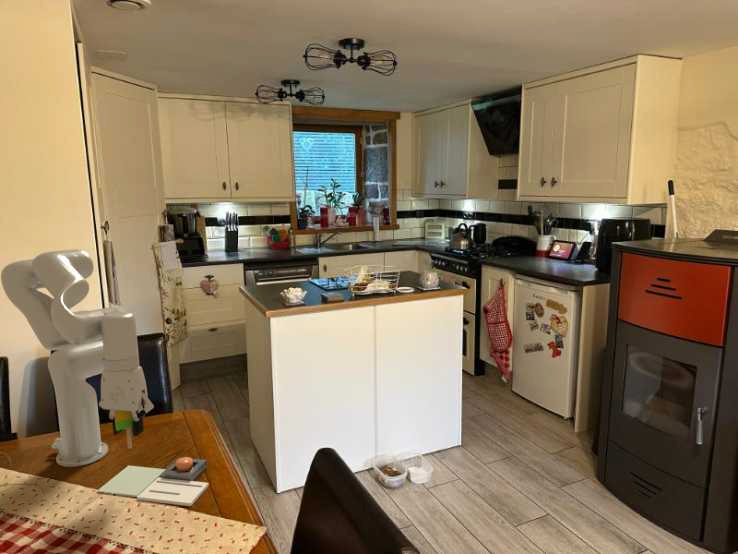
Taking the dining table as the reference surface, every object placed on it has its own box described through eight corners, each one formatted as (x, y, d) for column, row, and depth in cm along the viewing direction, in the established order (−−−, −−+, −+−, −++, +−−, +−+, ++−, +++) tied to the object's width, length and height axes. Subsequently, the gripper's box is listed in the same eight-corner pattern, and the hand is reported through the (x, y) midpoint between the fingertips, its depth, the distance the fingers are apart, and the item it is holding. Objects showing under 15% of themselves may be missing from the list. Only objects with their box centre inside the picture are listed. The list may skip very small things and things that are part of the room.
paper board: (137, 499, 122) (136, 496, 122) (158, 480, 130) (158, 477, 130) (190, 506, 119) (190, 502, 119) (208, 485, 128) (208, 482, 128)
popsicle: (119, 453, 126) (113, 395, 123) (117, 450, 127) (111, 393, 125) (142, 446, 129) (137, 390, 127) (140, 443, 131) (135, 388, 128)
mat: (97, 493, 125) (96, 490, 125) (128, 467, 137) (128, 465, 136) (137, 497, 123) (137, 495, 123) (166, 471, 134) (165, 469, 134)
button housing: (162, 480, 130) (161, 473, 130) (179, 464, 138) (179, 457, 138) (191, 483, 129) (190, 476, 128) (206, 467, 137) (206, 460, 136)
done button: (173, 471, 132) (172, 464, 131) (181, 463, 136) (181, 456, 135) (187, 472, 131) (187, 465, 131) (195, 464, 135) (195, 457, 134)
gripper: (80, 366, 123) (88, 437, 126) (143, 370, 119) (150, 443, 122) (102, 356, 130) (108, 424, 133) (162, 359, 127) (168, 429, 130)
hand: (128, 432), depth 128 cm, fingers closed on popsicle, 4 cm apart
